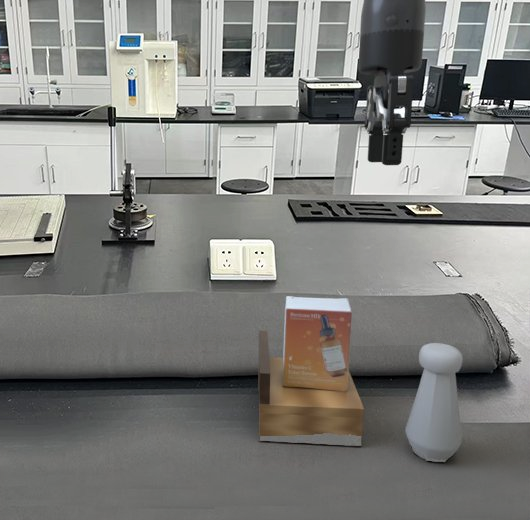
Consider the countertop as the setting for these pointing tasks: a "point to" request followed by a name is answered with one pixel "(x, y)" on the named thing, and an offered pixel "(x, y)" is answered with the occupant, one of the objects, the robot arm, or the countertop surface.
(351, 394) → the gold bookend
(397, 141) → the robot arm
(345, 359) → the small box
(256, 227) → the countertop surface
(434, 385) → the salt shaker
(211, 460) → the countertop surface
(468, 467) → the countertop surface
